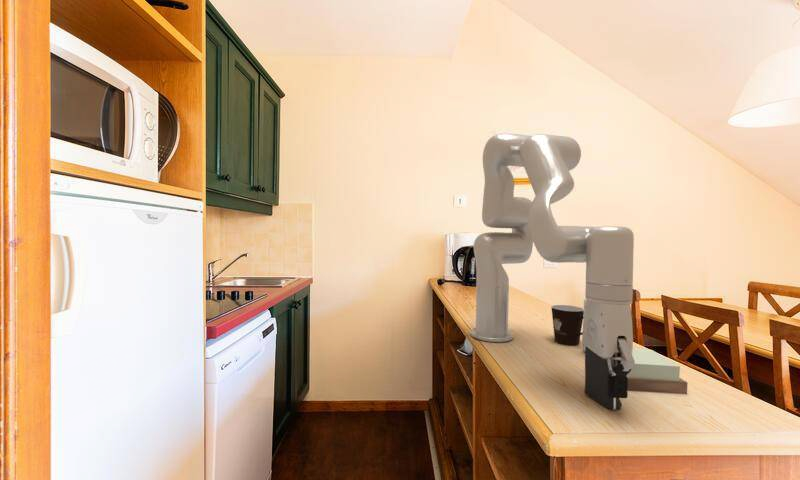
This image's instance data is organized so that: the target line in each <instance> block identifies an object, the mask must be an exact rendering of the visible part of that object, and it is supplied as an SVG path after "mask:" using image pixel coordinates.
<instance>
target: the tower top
mask: <svg viewBox="0 0 800 480" xmlns="http://www.w3.org/2000/svg"><path fill="white" fill-rule="evenodd" d="M632 356H633V358H634V361H635V364H634V365H633V367H632V368H631V371H630V372H629V374H630V375H629V377H628V378H638V379H652V380H667V381H679V378H680V375H681V374H680V372H681V371H680V369H681V368H680V365H678V364H676V363H674V362H673V361H672V360H669V359H668V358H667V357H664V356H663V355H661V354H659V353H658V352H656V351H655V350H653V349H650V348H649V349H645V348H633V350H632Z"/></svg>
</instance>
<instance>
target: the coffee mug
mask: <svg viewBox="0 0 800 480" xmlns="http://www.w3.org/2000/svg"><path fill="white" fill-rule="evenodd" d="M550 307H551V314H552V315H551V316H552V317H551V319H552V324H553V336H554V342H555V343H557V344H559V345H564V346H570V347H571V346H572V347H573V346H575V347H576V346H579V345H580V340H581V336H582V329H583V318H584V307H580V306H576V305H569V304H568V305H567V304H555V305H554V304H553V305H551V306H550Z"/></svg>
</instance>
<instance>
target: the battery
mask: <svg viewBox="0 0 800 480" xmlns="http://www.w3.org/2000/svg"><path fill="white" fill-rule="evenodd" d="M612 357H621V355H620V354H618V353H614V354H613V356H612ZM620 363H621V362H620V361H614V366H615V367H616V366H617V364H620ZM607 374H610V372H609V367H608V362H607V359H603V358H601V357H599V356H598V355H597V354H595V353H594V352H593V351H591V350H590V349H589V348H588V347H586V346H585V352H584V394H585V395H587V396H588V397H589V398H591V399H592V400H594V401H596V402H597V403H599V404H600V405H602V406H603V407H606V408H607V409H609V410H616V409H617V410H618V409H621V408H622V407H623V406H622V405H623V404H622V401H621V400H620V399H621V398H610V397H608V396H607Z"/></svg>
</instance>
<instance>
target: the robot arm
mask: <svg viewBox="0 0 800 480" xmlns="http://www.w3.org/2000/svg"><path fill="white" fill-rule="evenodd" d="M581 157H582V150H581V146H580V144H579V142H578V141H576V140H575V138H573V137H570V136H564V135H555V134H554V135H553V134H544V133H541V134H538V133H537V134H534V135H527V134H526V135H525V134H519V133H517V134H516V133H498V134H495V135H493V136H491V137H490V138H489V139H488V140H487V142H486V143H485V145H484V147H483V152H482V166H483V167H482V168H483V174H484V176H483V177H484V187H483V197H482V206H481V207H482V209H481V219H482V220H481V221H482V223H483V224H484V226H486V227H487V228H492V229H511V232H504V231H503V232H500V231H499V232H498V231H495V232H494V231H493V232H492V231H491V232H483V233H481V234H479V235H478V236H477V237H476V238H475V240H474V242H473V254H474V258H475V259H474V260H475V267H476V269H475V270H476V271H475V272H476V278H475V279H476V283H475V285H476V289H475V290H476V291H475V293H476V295H475V307H476V308H475V327H474V328H472V329H471V330H470V336H471V337H472V338H474V339H475V340H476V339H477V340H480V341H482V342H483V341H484V342H491V343H505V342H510V341H512V340H513V339H514V333H513V332H512V331H510V330H509V299H510V298H509V297H510V296H509V295H510V293H509V291H510V279H509V276H508V273H507V271H506V270H505V268H504V267H503V265H507V264H510V265H511V264H514V265H515V264H523V263H526V262H528V260H529V259H530V257H531V255H532V253H533V252H532V251H533V247H535V249H536V251H537V253H538V254H539V255H540V257H541V258H542V259H544V260H545V261H547V262H549V263H550V262H551V263H559V264H560V263H563V264H564V263H583V264H584V263H585V294H584V295H585V299H586V303H585V309H584V308H583V309H584V315H583V317H584V318H583V322H582V331H581V333H582V335H581V339H582V344H584V345H585V346H586V347H588V348H589V349H590V350H591V351H593V352H594V353H595V354H597V355H598V356H599V357H601V358H603V359H607V362H608V367H609V372H610V374H607V396H608V397H610V398H619V399H627V398H628V377H629V375H630V374H629V372H630V371H631V368H632V367H633V365H634V364H635V361H634V358H633V356H632V350H633V349H634V347H633V346H634V345H633V344H634V333H633V331H634V330H633V315H632V306H631V304H633V293H634V292H633V291H634V290H633V288H634V287H633V286H634V283H633V282H634V246H635V245H634V243H635V242H634V241H635V237H634V232H633V230H632V229H631V228H629V227H625V226H587V225H585V226H584V225H583V226H580V225H579V226H578V225H558V223H557V222H556V219H555V218H554V216H553V212H552V209H551V205H552V204H555V203H556V202H559V201H561V200H563V199H565V198H566V197H567V196H569V194H570V193H571V192H572V191H573V189H574V188H575V181H574V178H573V177H572V174H571V172H570V171H572V170H574V169H576V167H577V166H578V165H579V163H580V161H581ZM509 166H511V167H519V168H520V167H521V168H524V170H525V173H526V176H527V178H528V180H529V183H530V185H531V187H532V191H533V192H534V195H535V196H534V198H533V200H531V199H529V198H527V197H523V196H515V195H514V192H515V191H514V190H515V178H514V175H513V174H512V172H511V170H510V168H509ZM614 353H618V354H620V355H621V357H612V356H613V354H614ZM614 361H620V362H621V363H620V364H617V366H616V367H615V366H614Z"/></svg>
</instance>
